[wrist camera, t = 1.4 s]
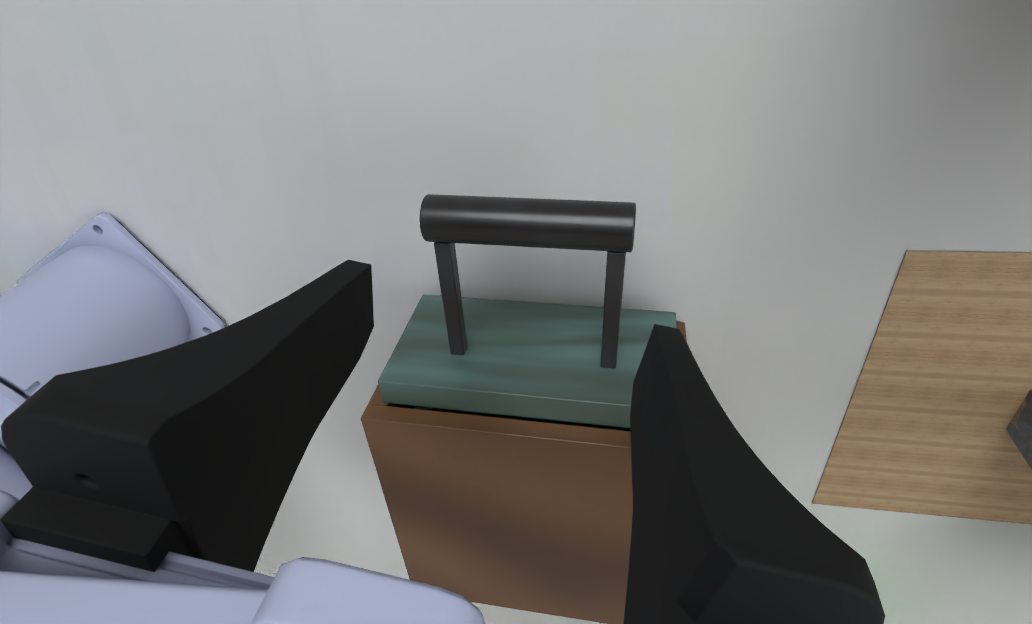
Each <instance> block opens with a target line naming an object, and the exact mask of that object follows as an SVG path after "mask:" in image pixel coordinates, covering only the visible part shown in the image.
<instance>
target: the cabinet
mask: <svg viewBox="0 0 1032 624" xmlns="http://www.w3.org/2000/svg"><path fill="white" fill-rule="evenodd" d="M676 326H677V329H680V331H681V332H682V334H683V336H684V338H685V340H686V331H685V323H683V322H676ZM686 342H687V341H686ZM414 407H415V406H413V405H403V404H393V403H384V402H383V399H382V395H381V391H380V388H379V384H378V386H377V388H376V390H375V392H374V394H373V395H372V397H371V399H370V401H369V404H368V405H367V407H366V409H365V411H364V413H363V415H362V417H361V421H362V424H363V428H364V431H365V434H366V437H367V441H368V444H369V447H370V451H371V454H372V457H373V460H374V464H375V467H376V470H377V474H378V477H379V480H380V483H381V487H382V490H383V493H384V497H385V500H386V503H387V506H388V510H389V513H390V516H391V520H392V523H393V526H394V529H395V533H396V536H397V539H398V543H399V546H400V549H401V552H402V556H403V559H404V562H405V565H406V569H407V572H408V575H409V579H410V580H412V581H416V582H420V583H424V584H428V585H433V586H437V587H440V588H443V589H445V590H448V591H451V592H453V593H456V594H459V595H461V596H463V597H464V598H466V599H467V600H468V601H470V602H476V603H482V604H488V605H494V606H501V607H507V608H513V609H519V610H526V611H532V612H538V613H544V614H550V615H557V616H563V617H569V618H575V619H582V620H588V621H594V622H600V623H607V624H623V623H624V613H625V603H626V592H627V581H628V569H629V557H630V544H631V530H632V515H633V490H632V465H631V438H630V431H621V430H612V429H602V428H593V427H583V426H574V425H564V424H555V423H545V422H536V421H526V420H516V419H507V418H497V417H488V416H478V415H469V414H459V413H450V412H440V411H431V410H421V409H414Z"/></svg>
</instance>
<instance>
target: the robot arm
mask: <svg viewBox="0 0 1032 624" xmlns="http://www.w3.org/2000/svg"><path fill="white" fill-rule="evenodd" d="M373 327H374V320H373V295H372V271H371V264H366V263H361V262H356V261H352V260H347V261H345V262H343V263H342V264H340V265H338V266H337V267H335V268H333V269H332V270H330V271H328V272H327V273H325V274H324V275H322V276H320V277H319V278H317V279H315V280H314V281H312V282H311V283H309V284H307V285H306V286H304V287H302V288H300V289H299V290H297V291H295V292H294V293H292V294H290V295H289V296H287V297H285V298H283V299H281V300H280V301H278V302H276V303H274V304H272V305H270V306H268V307H266V308H264V309H263V310H261V311H259V312H257V313H255V314H253V315H251V316H249V317H247V318H245V319H243V320H241V321H239V322H236V323H234V324H232V325H230V326H227V327H225V324H224V323H223V321H222V320H221V319H220V318H219V317H218V316H217V315H215V314H214V313H213V312H212V311H211V310H210V309H209V308H208V307H207V306H206V305H205V304H204V303H203V302H202V301H201V300H200V299H199V298H198V297H197V296H195V295H194V294H193V293H192V292H191V291H190V290H189V289H188V288H187V287H186V286H185V285H184V284H183V283H182V282H181V281H180V280H179V279H178V278H176V277H175V276H174V275H173V274H172V273H171V272H170V271H169V270H168V269H167V268H166V267H165V266H164V265H163V264H162V263H161V262H160V261H159V260H158V259H156V258H155V257H154V256H153V255H152V254H151V253H150V252H149V251H148V250H147V249H146V248H145V247H144V246H143V245H142V244H141V243H140V242H139V241H137V240H136V239H135V238H134V237H133V236H132V235H131V234H130V233H129V232H128V231H127V230H126V229H125V228H124V227H123V226H122V225H121V224H120V223H118V222H117V221H116V220H115V219H114V218H113V217H112V216H110V215H108V214H106V213H101V214H99V215H97V216H96V217H94V218H93V219H92V220H91V221H89V222H88V223H87V224H86V225H84V226H83V227H82V228H81V229H80V230H78V231H77V232H76V233H75V234H73V235H72V236H71V237H70V238H68V239H67V240H66V241H65V242H64V243H62V244H61V245H60V246H59V247H57V248H56V249H55V250H54V251H53V252H51V253H50V254H49V255H48V256H46V257H45V258H44V259H43V260H41V261H40V262H39V263H38V264H37V265H35V266H34V267H33V268H32V269H30V270H29V271H28V272H27V273H26V274H24V275H23V276H22V277H21V278H19V279H18V280H17V285H15V286H14V287H12V288H10V289H9V290H7V291H6V292H4V293H3V294H1V295H0V624H485V622H484V619H483V616H482V613H481V612H480V610H479V609H478V608H477V607H476V606H475V605H474V604H472V603H471V602H470V601H468V600H467V599H466V598H464V597H463V596H461V595H459V594H456V593H453V592H451V591H448V590H445V589H443V588H440V587H437V586H433V585H428V584H424V583H420V582H416V581H412V580H408V579H404V578H399V577H395V576H391V575H387V574H383V573H379V572H375V571H370V570H366V569H362V568H358V567H354V566H350V565H346V564H342V563H337V562H333V561H329V560H324V559H315V558H305V557H302V558H299V559H296V560H293V561H290V562H287V563H284V564H282V565H281V566H280V568H279V570H278V572H277V574H276V576H275V577H271V576H267V575H263V574H259V573H255V572H254V569H255V567H256V564H257V562H258V559H259V557H260V554H261V551H262V549H263V546H264V544H265V541H266V539H267V536H268V534H269V532H270V529H271V527H272V524H273V522H274V520H275V517H276V515H277V512H278V510H279V508H280V505H281V503H282V501H283V499H284V496H285V494H286V492H287V490H288V487H289V485H290V483H291V481H292V478H293V476H294V474H295V472H296V470H297V467H298V465H299V463H300V461H301V459H302V457H303V455H304V453H305V451H306V449H307V446H308V444H309V442H310V440H311V438H312V437H313V435H314V433H315V431H316V429H317V428H318V426H319V424H320V422H321V421H322V419H323V418H324V416H325V414H326V413H327V411H328V410H329V408H330V406H331V405H332V403H333V402H334V400H335V398H336V397H337V395H338V393H339V392H340V390H341V389H342V387H343V385H344V384H345V382H346V381H347V379H348V377H349V376H350V374H351V372H352V371H353V369H354V367H355V366H356V364H357V362H358V361H359V359H360V357H361V355H362V352H363V350H364V348H365V346H366V344H367V341H368V339H369V336H370V334H371V332H372V329H373ZM630 438H631V465H632V490H633V515H632V530H631V544H630V557H629V569H628V581H627V592H626V603H625V613H624V623H623V624H883V623H884V618H885V614H884V611H883V608H882V605H881V602H880V599H879V595H878V592H877V589H876V586H875V582H874V580H873V577H872V575H871V573H870V570H869V568H868V565H867V563H866V560H865V559H864V558H863V557H862V556H860V555H859V554H858V553H857V552H856V551H854V550H853V549H852V548H851V547H849V546H848V545H847V544H846V543H845V542H843V541H842V540H841V539H840V538H839V537H837V536H836V535H835V534H834V533H833V532H831V531H830V530H829V529H828V528H827V527H825V526H824V525H823V524H822V523H821V522H820V521H819V520H818V519H817V518H816V517H815V516H813V515H812V514H811V513H810V512H809V511H808V510H807V509H806V508H805V507H804V506H803V505H802V504H801V503H800V502H799V501H798V500H797V499H796V498H795V497H794V496H793V495H792V494H791V493H790V492H789V491H788V490H787V489H786V488H785V487H784V486H783V485H782V484H781V483H780V482H779V481H778V480H777V478H776V477H775V476H774V475H773V474H772V473H771V472H770V471H769V470H768V469H767V468H766V466H765V465H764V464H763V463H762V462H761V461H760V459H759V458H758V457H757V456H756V455H755V453H754V452H753V451H752V449H751V448H750V447H749V446H748V444H747V443H746V442H745V440H744V439H743V438H742V437H741V435H740V434H739V433H738V431H737V430H736V428H735V427H734V426H733V424H732V423H731V421H730V420H729V418H728V416H727V415H726V413H725V412H724V410H723V409H722V407H721V406H720V404H719V402H718V401H717V399H716V397H715V396H714V394H713V392H712V390H711V389H710V387H709V385H708V383H707V382H706V380H705V378H704V376H703V374H702V372H701V371H700V369H699V367H698V365H697V363H696V361H695V359H694V357H693V355H692V353H691V351H690V349H689V347H688V345H687V342H686V340H685V338H684V336H683V334H682V332H681V331H680V329H677V328H672V327H668V326H663V325H658V324H654V327H653V329H652V332H651V335H650V338H649V340H648V343H647V346H646V349H645V351H644V354H643V357H642V360H641V362H640V365H639V368H638V371H637V373H636V376H635V379H634V382H633V390H632V400H631V411H630Z"/></svg>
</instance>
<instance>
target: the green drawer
mask: <svg viewBox="0 0 1032 624" xmlns="http://www.w3.org/2000/svg"><path fill="white" fill-rule="evenodd" d="M635 215H636V204H635V203H631V202H606V201H581V200H556V199H531V198H506V197H481V196H456V195H431V194H428V195H426V196H425V197H424V199H423V201H422V204H421V209H420V229H421V233H422V236H423V238H424V240H426V241H428V242H434V247H435V254H436V260H437V267H438V274H439V280H440V287H441V294H442V296H436V295H423V296H422V297H421V299H420V301H419V303H418V305H417V307H416V309H415V311H414V313H413V315H412V317H411V319H410V320H409V322H408V324H407V326H406V328H405V330H404V332H403V334H402V336H401V338H400V340H399V342H398V344H397V345H396V347H395V349H394V351H393V353H392V355H391V357H390V359H389V361H388V363H387V365H386V367H385V368H384V370H383V372H382V374H381V376H380V378H379V380H378V384H379V388H380V391H381V395H382V399H383V402H384V403H393V404H403V405H413V406H415V407H414V409H421V410H431V411H440V412H450V413H459V414H469V415H478V416H488V417H497V418H507V419H516V420H526V421H536V422H545V423H555V424H564V425H574V426H583V427H593V428H602V429H612V430H621V431H630V411H631V400H632V390H633V382H634V379H635V376H636V373H637V371H638V368H639V365H640V362H641V360H642V357H643V354H644V351H645V349H646V346H647V343H648V340H649V338H650V335H651V332H652V329H653V327H654V324H658V325H663V326H668V327H672V328H677V326H676V313H675V312H664V311H650V310H635V309H621V302H622V290H623V279H624V267H625V255H626V252H632V250H633V241H634V229H635ZM455 243H465V244H484V245H502V246H521V247H539V248H558V249H576V250H595V251H607V265H606V281H605V297H604V307H593V306H578V305H564V304H550V303H536V302H521V301H507V300H493V299H479V298H464V297H461V291H460V283H459V275H458V267H457V258H456V250H455Z"/></svg>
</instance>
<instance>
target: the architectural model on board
mask: <svg viewBox="0 0 1032 624" xmlns="http://www.w3.org/2000/svg"><path fill="white" fill-rule="evenodd" d="M812 504H823V505H833V506H844V507H854V508H865V509H875V510H886V511H896V512H907V513H917V514H928V515H938V516H949V517H959V518H970V519H980V520H991V521H1001V522H1012V523H1022V524H1032V253H1005V252H943V251H907V252H906V255H905V258H904V260H903V263H902V266H901V268H900V271H899V274H898V276H897V279H896V282H895V284H894V287H893V290H892V292H891V295H890V298H889V300H888V303H887V306H886V308H885V311H884V314H883V316H882V319H881V322H880V324H879V327H878V330H877V332H876V335H875V338H874V340H873V343H872V346H871V348H870V351H869V354H868V356H867V359H866V362H865V364H864V367H863V370H862V372H861V375H860V377H859V380H858V383H857V385H856V388H855V391H854V393H853V396H852V399H851V401H850V404H849V407H848V409H847V412H846V415H845V417H844V420H843V423H842V425H841V428H840V431H839V433H838V436H837V439H836V441H835V444H834V447H833V449H832V452H831V455H830V457H829V460H828V463H827V465H826V468H825V471H824V473H823V476H822V479H821V481H820V484H819V487H818V489H817V492H816V495H815V497H814V500H813V503H812Z"/></svg>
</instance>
